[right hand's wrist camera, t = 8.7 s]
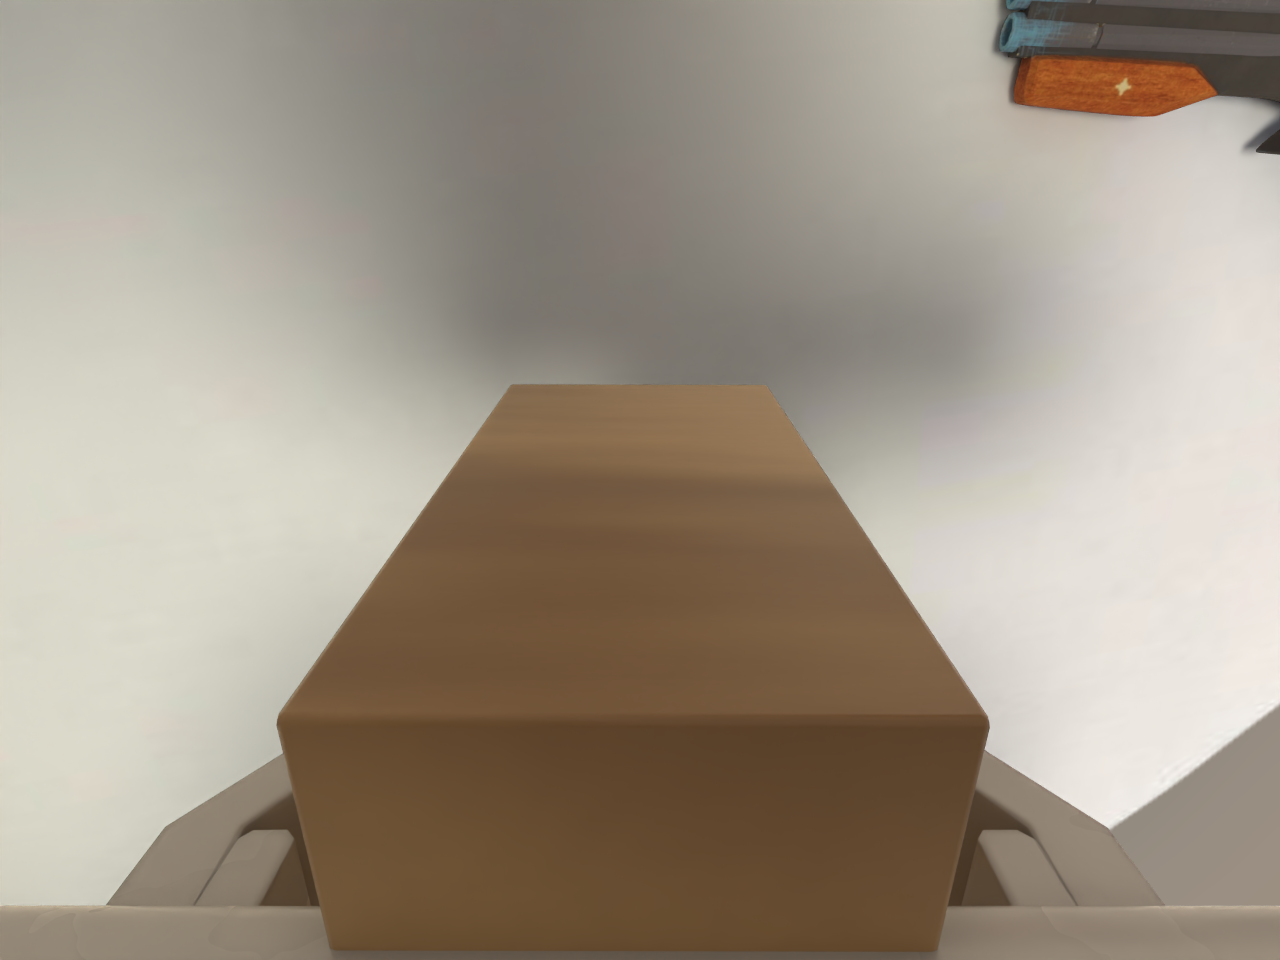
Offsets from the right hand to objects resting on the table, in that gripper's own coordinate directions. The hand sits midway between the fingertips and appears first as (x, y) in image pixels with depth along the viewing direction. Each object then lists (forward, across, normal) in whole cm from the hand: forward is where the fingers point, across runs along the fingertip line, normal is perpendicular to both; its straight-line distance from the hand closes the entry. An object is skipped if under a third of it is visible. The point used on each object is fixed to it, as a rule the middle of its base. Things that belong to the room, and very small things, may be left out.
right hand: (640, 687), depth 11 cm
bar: (+3, 0, -8) cm, 9 cm away
